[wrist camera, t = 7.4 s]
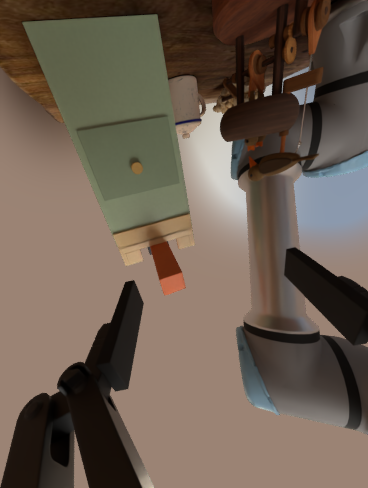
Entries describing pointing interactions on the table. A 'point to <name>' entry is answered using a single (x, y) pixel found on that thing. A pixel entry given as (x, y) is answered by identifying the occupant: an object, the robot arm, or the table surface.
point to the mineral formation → (232, 102)
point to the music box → (283, 39)
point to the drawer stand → (119, 123)
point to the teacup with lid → (186, 104)
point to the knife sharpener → (167, 268)
